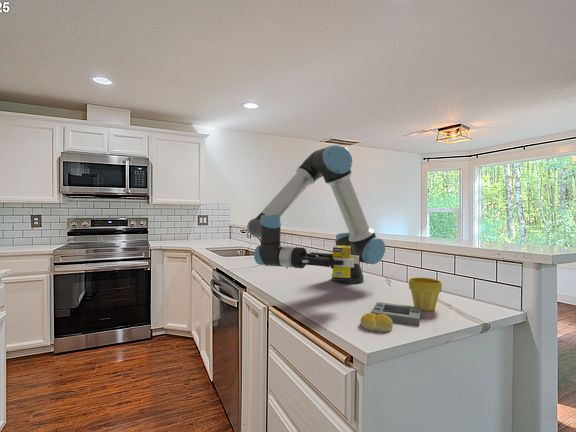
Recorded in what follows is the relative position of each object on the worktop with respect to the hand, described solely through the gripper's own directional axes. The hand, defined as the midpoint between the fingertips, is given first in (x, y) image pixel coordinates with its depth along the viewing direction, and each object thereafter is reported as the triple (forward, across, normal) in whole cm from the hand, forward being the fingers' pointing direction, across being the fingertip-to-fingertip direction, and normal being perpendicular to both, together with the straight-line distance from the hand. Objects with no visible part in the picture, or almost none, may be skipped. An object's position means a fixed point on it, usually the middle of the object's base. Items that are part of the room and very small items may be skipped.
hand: (356, 261), depth 106 cm
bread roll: (+9, +13, -17) cm, 23 cm away
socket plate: (+13, 0, -17) cm, 21 cm away
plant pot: (+21, -13, -17) cm, 30 cm away
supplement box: (-5, 0, -6) cm, 8 cm away
